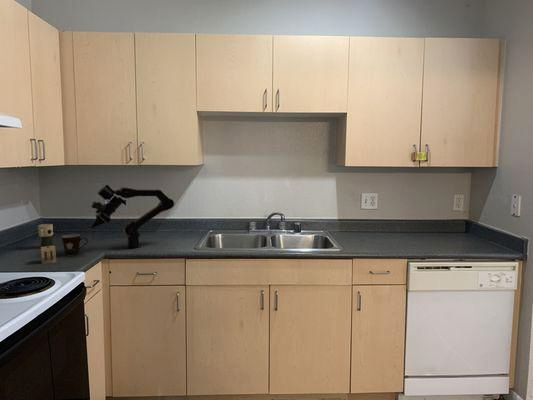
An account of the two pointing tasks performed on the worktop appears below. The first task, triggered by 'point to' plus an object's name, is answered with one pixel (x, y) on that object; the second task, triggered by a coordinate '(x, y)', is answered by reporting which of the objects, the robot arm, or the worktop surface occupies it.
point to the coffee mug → (72, 243)
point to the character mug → (46, 234)
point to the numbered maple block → (48, 254)
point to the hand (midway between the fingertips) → (91, 227)
